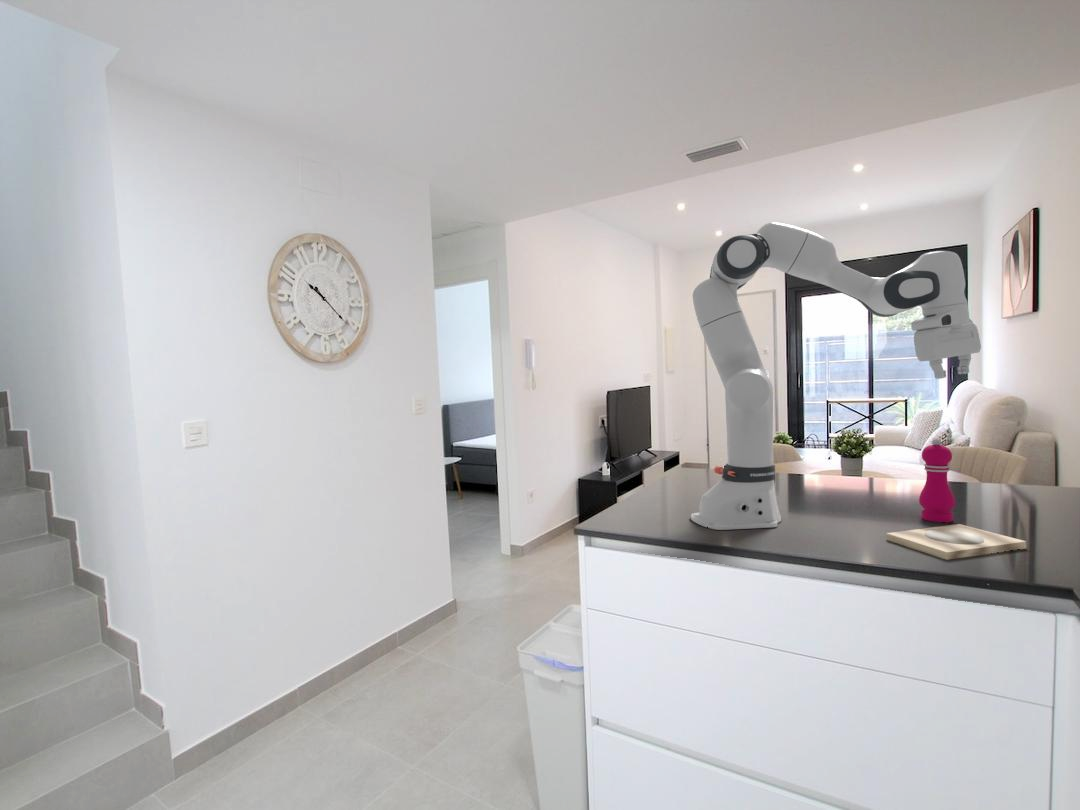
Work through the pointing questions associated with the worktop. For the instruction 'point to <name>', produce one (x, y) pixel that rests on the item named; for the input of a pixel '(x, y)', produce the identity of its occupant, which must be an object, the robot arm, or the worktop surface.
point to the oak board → (955, 541)
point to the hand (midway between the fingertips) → (952, 376)
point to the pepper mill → (937, 484)
